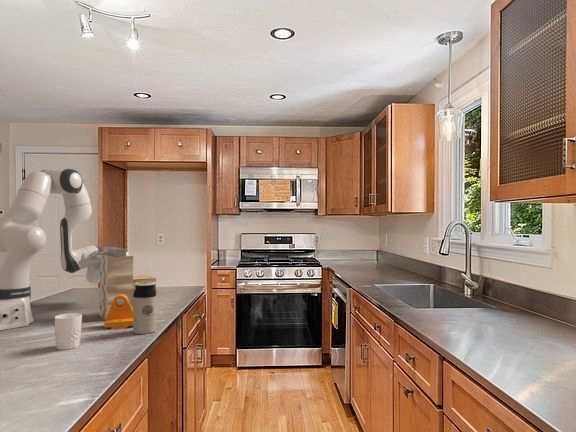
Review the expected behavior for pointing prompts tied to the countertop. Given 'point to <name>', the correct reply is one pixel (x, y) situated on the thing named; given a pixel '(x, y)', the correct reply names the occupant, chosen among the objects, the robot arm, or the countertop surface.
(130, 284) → the step stand
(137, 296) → the travel mug
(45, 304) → the countertop surface
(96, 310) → the countertop surface
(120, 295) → the bracket
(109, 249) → the block
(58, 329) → the white cup
